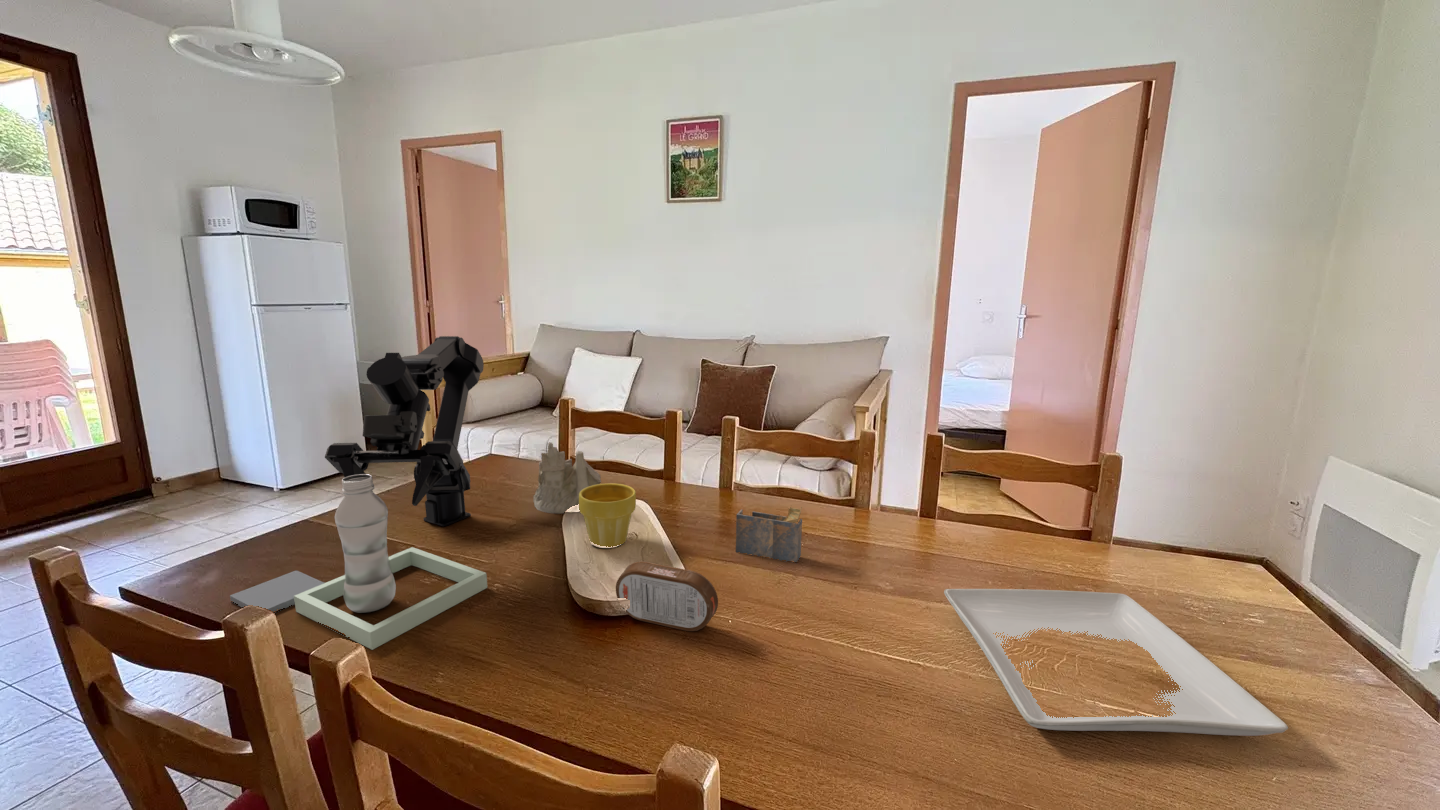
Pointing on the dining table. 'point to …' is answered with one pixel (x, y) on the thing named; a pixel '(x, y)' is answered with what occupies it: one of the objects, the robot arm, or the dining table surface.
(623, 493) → the plant pot
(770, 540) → the mottled blue bin
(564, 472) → the ceramic cottage
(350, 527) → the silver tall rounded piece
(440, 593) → the empty rectangular frame
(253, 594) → the rubber mat
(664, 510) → the dining table surface
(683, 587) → the tin
